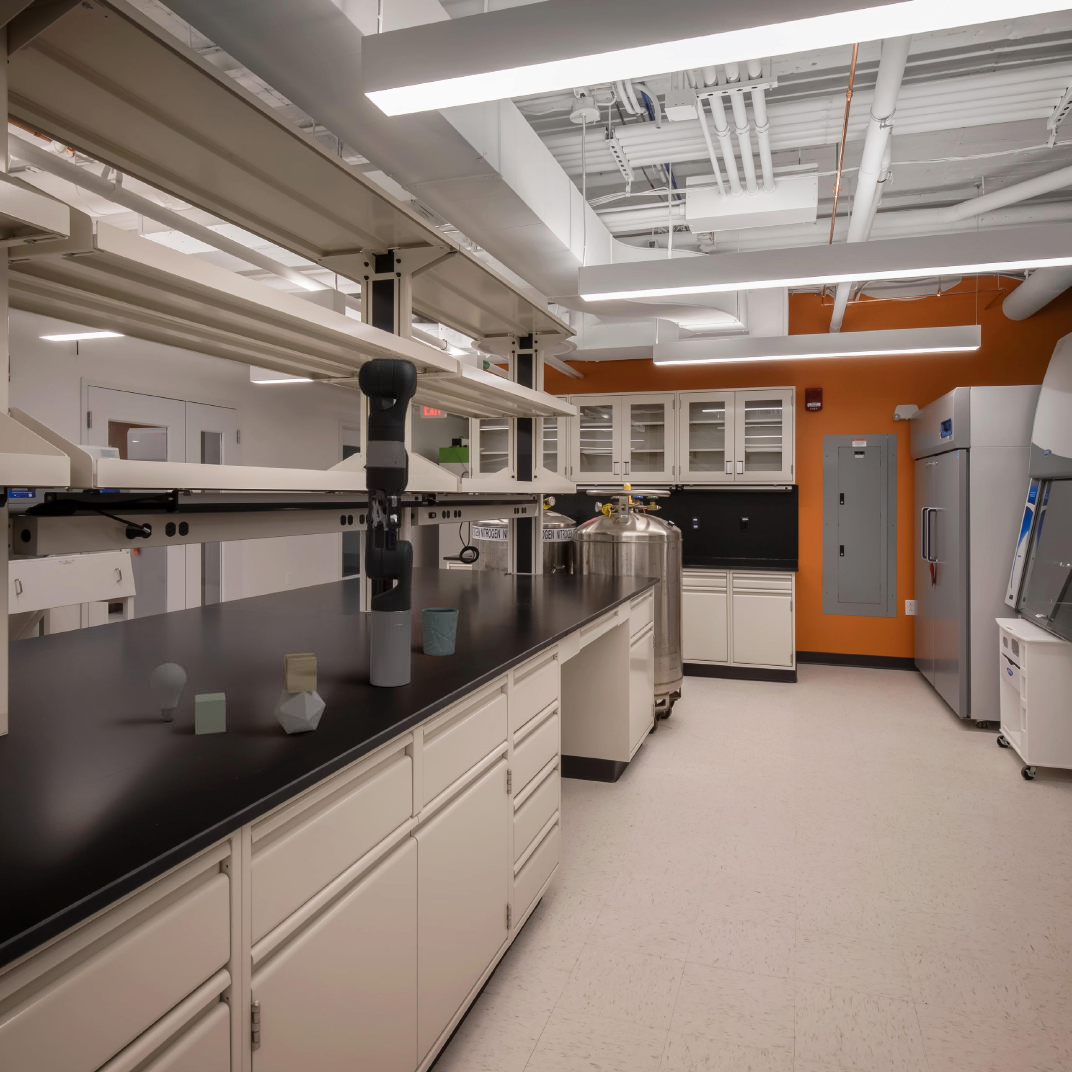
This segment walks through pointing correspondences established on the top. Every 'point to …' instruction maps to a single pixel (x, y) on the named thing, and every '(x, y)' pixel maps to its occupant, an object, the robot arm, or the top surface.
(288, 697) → the die
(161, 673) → the lightbulb
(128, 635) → the top surface
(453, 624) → the teal plant pot
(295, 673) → the maple block
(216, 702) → the sage block
